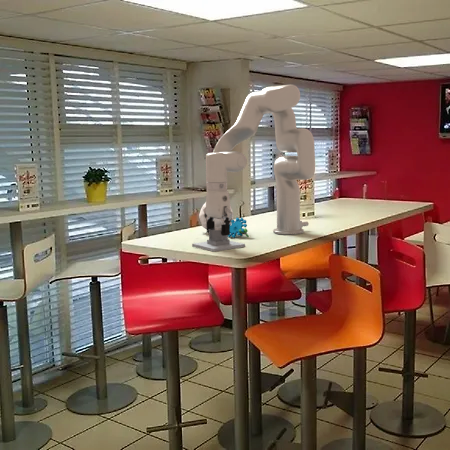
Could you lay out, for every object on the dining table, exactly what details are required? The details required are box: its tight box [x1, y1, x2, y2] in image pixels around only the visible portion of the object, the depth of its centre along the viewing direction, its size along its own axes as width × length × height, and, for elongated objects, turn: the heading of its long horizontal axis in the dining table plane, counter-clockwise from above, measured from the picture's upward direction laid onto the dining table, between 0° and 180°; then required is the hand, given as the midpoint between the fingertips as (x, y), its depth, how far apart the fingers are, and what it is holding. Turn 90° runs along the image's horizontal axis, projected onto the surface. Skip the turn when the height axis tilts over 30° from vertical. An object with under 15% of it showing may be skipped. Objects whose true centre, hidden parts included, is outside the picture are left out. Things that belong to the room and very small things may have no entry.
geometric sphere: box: [198, 201, 234, 230], centre depth 251 cm, size 14×15×15 cm
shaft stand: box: [191, 227, 246, 252], centre depth 217 cm, size 14×14×7 cm
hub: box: [208, 228, 229, 241], centre depth 217 cm, size 7×7×4 cm
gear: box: [228, 217, 249, 239], centre depth 239 cm, size 11×6×10 cm
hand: (218, 233), depth 217 cm, fingers open, 9 cm apart
